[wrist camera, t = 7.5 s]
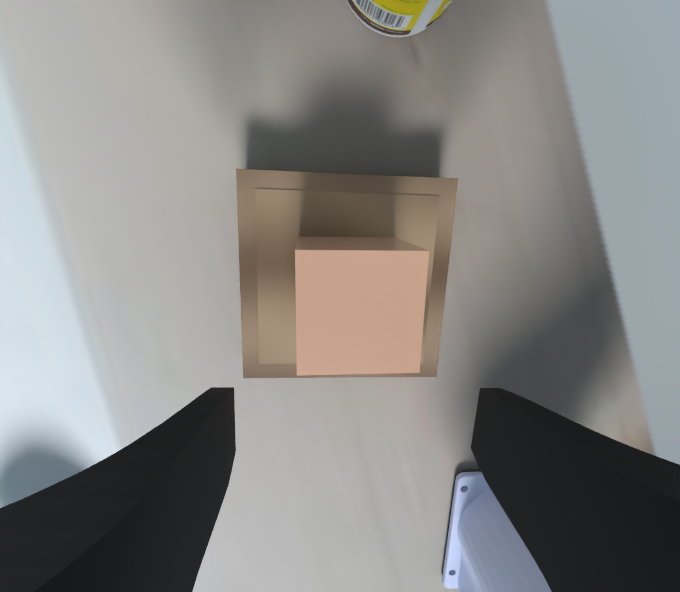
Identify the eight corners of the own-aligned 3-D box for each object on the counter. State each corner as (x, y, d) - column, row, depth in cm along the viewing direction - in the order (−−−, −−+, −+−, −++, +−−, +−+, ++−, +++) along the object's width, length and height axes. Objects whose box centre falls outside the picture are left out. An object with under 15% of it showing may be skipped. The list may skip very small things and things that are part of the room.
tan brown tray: (421, 357, 22) (436, 377, 19) (250, 357, 21) (243, 378, 18) (439, 181, 19) (458, 178, 17) (245, 173, 18) (236, 168, 16)
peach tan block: (390, 327, 18) (419, 372, 13) (299, 328, 18) (297, 375, 13) (394, 237, 17) (429, 250, 12) (299, 236, 17) (295, 249, 12)
